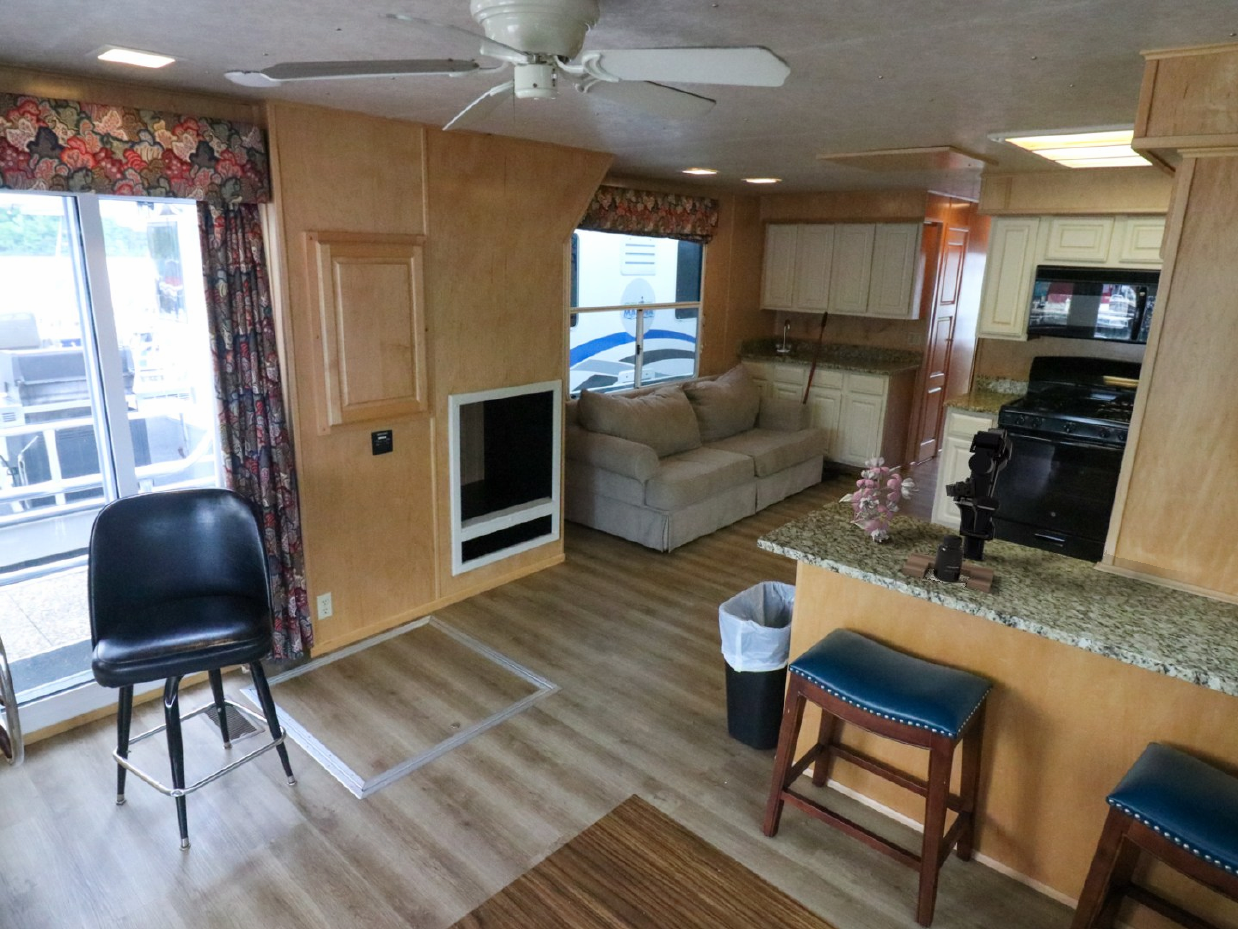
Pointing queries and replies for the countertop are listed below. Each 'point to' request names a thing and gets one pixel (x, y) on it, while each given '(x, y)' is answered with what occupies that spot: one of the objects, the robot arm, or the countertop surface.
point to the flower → (868, 499)
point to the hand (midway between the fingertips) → (969, 530)
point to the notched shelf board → (977, 575)
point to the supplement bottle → (949, 559)
